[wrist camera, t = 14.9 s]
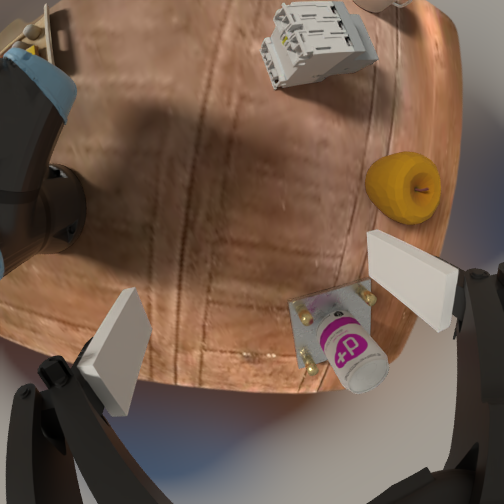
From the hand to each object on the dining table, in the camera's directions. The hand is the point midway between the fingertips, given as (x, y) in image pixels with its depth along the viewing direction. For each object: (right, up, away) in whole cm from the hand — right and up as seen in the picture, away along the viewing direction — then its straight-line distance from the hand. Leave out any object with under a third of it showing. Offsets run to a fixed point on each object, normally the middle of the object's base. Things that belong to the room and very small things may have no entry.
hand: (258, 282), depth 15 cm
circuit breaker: (+9, +32, +22) cm, 40 cm away
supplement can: (+15, -13, +35) cm, 41 cm away
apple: (+22, +14, +29) cm, 39 cm away
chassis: (+15, -12, +36) cm, 41 cm away
